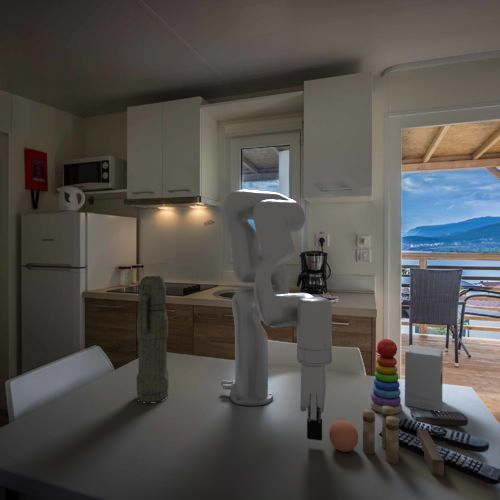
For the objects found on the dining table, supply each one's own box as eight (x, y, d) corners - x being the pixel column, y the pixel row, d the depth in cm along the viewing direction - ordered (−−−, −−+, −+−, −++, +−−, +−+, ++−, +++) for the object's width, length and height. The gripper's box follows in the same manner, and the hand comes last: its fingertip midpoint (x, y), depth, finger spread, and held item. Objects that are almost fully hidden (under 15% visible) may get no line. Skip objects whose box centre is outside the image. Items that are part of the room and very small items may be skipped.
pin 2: (386, 463, 73) (386, 421, 73) (384, 456, 75) (384, 415, 75) (399, 464, 73) (400, 422, 72) (397, 457, 75) (397, 416, 75)
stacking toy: (405, 417, 93) (405, 344, 93) (372, 414, 94) (372, 342, 94) (398, 404, 101) (399, 336, 100) (368, 401, 102) (369, 335, 102)
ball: (348, 425, 74) (362, 453, 74) (350, 411, 80) (363, 437, 79) (322, 434, 76) (336, 461, 76) (326, 420, 82) (338, 445, 81)
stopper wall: (432, 474, 69) (432, 459, 69) (416, 441, 81) (416, 428, 81) (443, 476, 69) (443, 460, 69) (426, 442, 81) (426, 429, 81)
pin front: (363, 453, 76) (363, 413, 76) (361, 447, 79) (362, 408, 79) (375, 455, 76) (375, 414, 76) (374, 448, 78) (374, 409, 78)
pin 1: (382, 449, 78) (382, 410, 78) (381, 443, 80) (381, 405, 80) (395, 450, 77) (395, 411, 77) (392, 444, 80) (393, 406, 80)
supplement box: (440, 413, 95) (441, 356, 95) (404, 405, 100) (404, 351, 100) (443, 401, 103) (443, 348, 102) (409, 394, 107) (409, 343, 107)
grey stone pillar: (130, 406, 99) (129, 278, 99) (143, 389, 111) (143, 275, 110) (162, 406, 99) (162, 278, 98) (172, 389, 110) (172, 275, 110)
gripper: (299, 344, 87) (300, 420, 87) (293, 363, 73) (294, 454, 73) (331, 346, 86) (332, 423, 86) (332, 366, 71) (332, 459, 71)
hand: (314, 437), depth 79 cm, fingers closed
